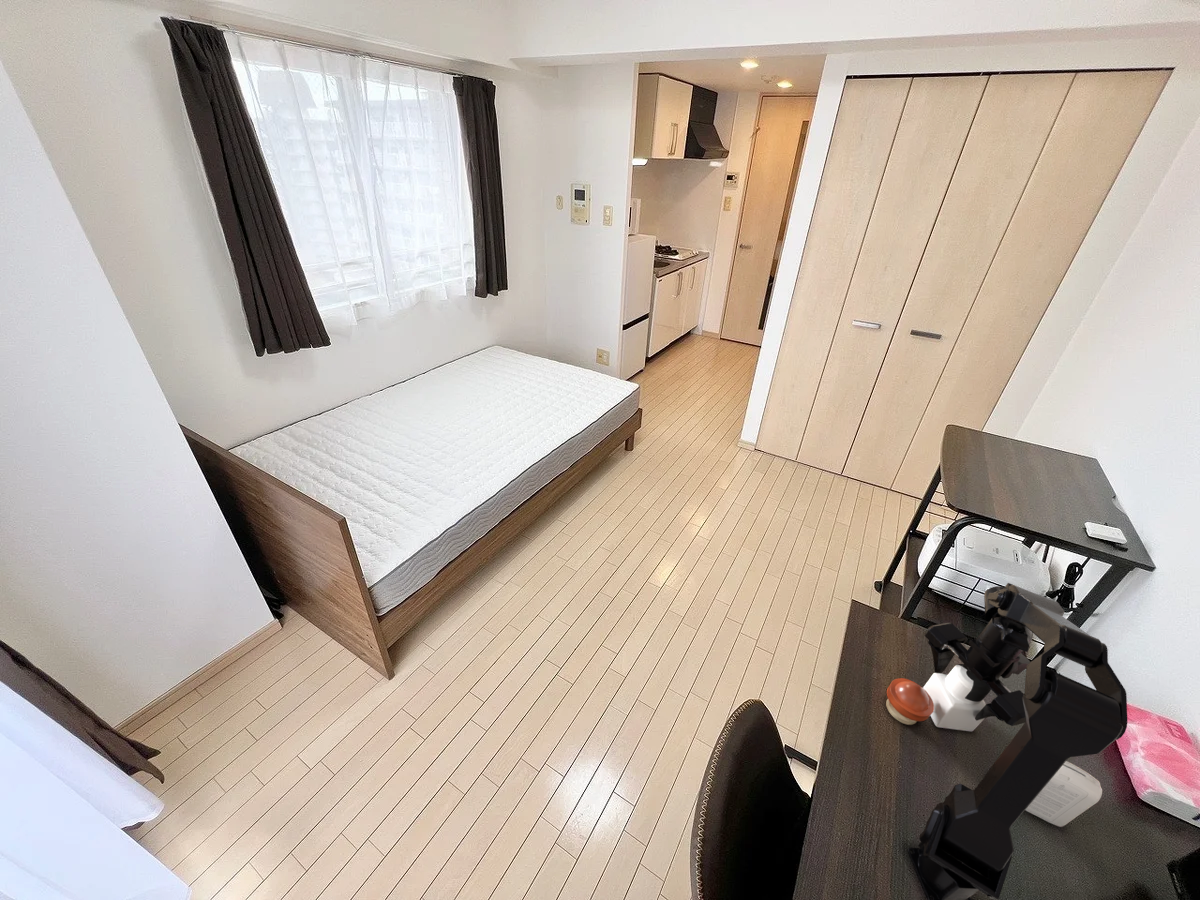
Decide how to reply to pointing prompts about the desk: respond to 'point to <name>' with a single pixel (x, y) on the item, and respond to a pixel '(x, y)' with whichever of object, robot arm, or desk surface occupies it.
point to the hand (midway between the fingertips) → (956, 695)
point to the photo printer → (1066, 795)
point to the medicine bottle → (956, 698)
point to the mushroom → (908, 701)
